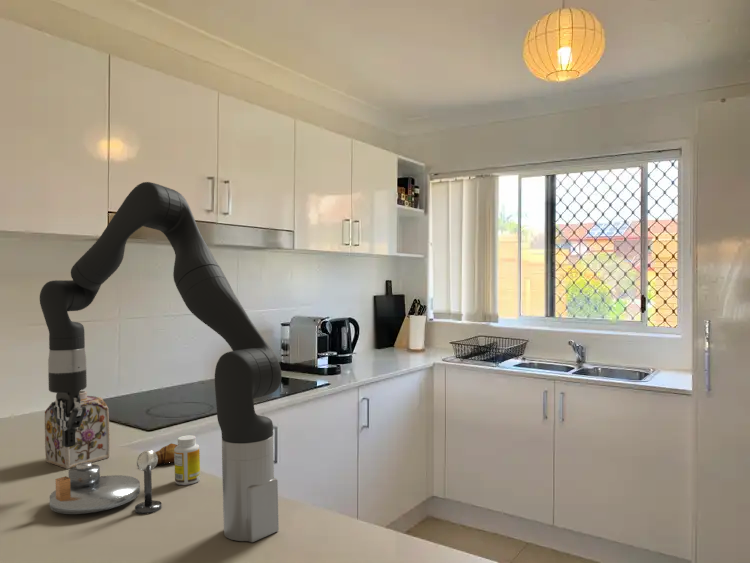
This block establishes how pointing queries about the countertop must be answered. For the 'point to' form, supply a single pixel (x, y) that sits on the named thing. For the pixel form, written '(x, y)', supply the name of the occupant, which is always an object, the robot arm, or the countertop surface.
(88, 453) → the decorative jar
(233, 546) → the countertop surface
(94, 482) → the cover
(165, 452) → the croissant
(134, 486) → the turntable
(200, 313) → the robot arm
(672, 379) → the countertop surface
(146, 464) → the dial stand
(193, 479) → the supplement bottle
